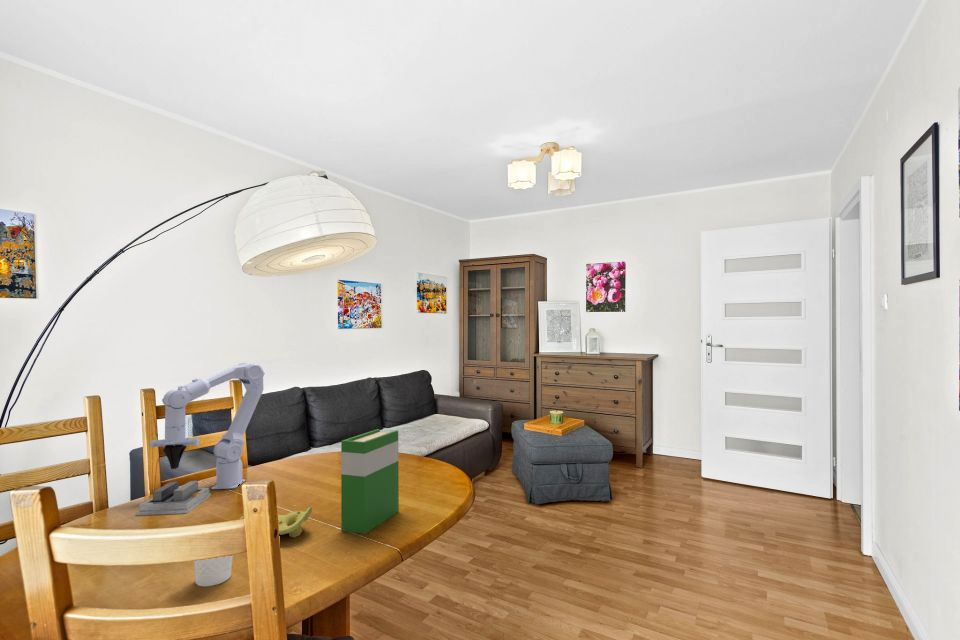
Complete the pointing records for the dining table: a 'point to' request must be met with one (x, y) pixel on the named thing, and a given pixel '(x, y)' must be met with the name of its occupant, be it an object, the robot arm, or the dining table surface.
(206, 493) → the rack
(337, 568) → the dining table surface
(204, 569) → the white cup
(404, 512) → the dining table surface
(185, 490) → the panel
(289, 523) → the plastic component
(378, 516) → the hardback book
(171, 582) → the dining table surface
